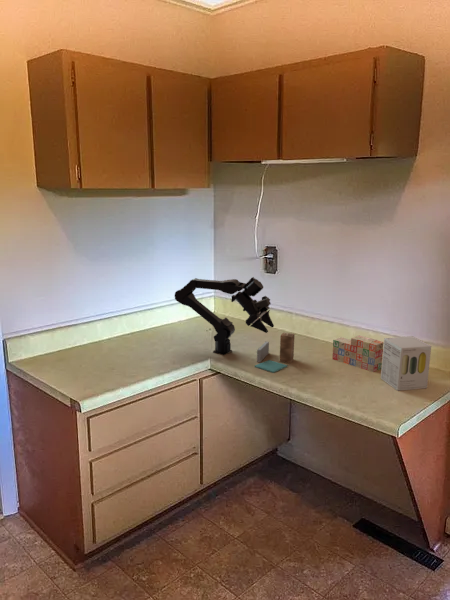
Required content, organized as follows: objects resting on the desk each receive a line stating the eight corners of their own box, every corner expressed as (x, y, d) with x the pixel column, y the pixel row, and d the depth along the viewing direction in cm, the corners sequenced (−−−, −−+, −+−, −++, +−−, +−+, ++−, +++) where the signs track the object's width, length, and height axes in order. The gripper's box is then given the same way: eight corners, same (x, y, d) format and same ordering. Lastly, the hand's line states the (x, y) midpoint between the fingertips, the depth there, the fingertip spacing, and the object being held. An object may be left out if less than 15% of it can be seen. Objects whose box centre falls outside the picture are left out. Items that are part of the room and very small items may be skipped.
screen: (256, 361, 238) (257, 349, 237) (265, 352, 250) (265, 341, 249) (260, 362, 238) (260, 350, 237) (268, 353, 250) (268, 341, 248)
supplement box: (397, 391, 208) (401, 347, 204) (379, 378, 221) (383, 337, 217) (427, 388, 211) (432, 345, 207) (409, 376, 224) (413, 335, 220)
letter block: (279, 361, 239) (280, 335, 236) (282, 358, 243) (283, 332, 241) (290, 363, 237) (291, 336, 234) (293, 359, 242) (294, 333, 239)
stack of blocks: (331, 359, 243) (333, 333, 240) (340, 356, 247) (341, 330, 244) (373, 372, 228) (376, 344, 225) (381, 369, 232) (384, 341, 229)
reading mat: (254, 366, 232) (254, 365, 232) (268, 361, 239) (268, 359, 239) (273, 372, 226) (273, 371, 225) (287, 366, 233) (287, 365, 233)
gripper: (253, 296, 229) (277, 323, 228) (265, 287, 246) (288, 313, 245) (235, 312, 234) (259, 339, 233) (249, 302, 251) (271, 328, 250)
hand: (270, 329), depth 240 cm, fingers open, 9 cm apart
